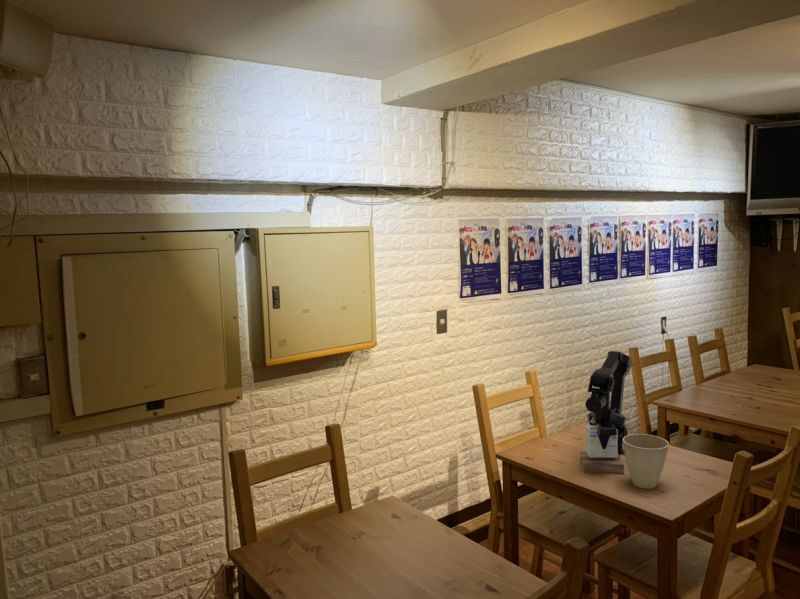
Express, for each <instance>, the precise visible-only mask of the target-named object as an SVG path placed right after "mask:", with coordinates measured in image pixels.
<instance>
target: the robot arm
mask: <svg viewBox="0 0 800 599" xmlns="http://www.w3.org/2000/svg"><path fill="white" fill-rule="evenodd" d="M632 365H633V360H632V357H631V356H630V355H627V354H624V353H623V352H622V351H616V350H615V351H614V350H610V351H608V353H607V357H606V359H605V360H604V363H603V364H602V365H601V367H600V368H597V369H595V370H594V372H592V374H591V375H590V378H589V383H588V389H587V392H588V393H591V394H590V397H588V398H587V399H586V401H585V408H586V409H587V411H589V413H588V414H587V416H586V417H587V418H586V419H587V421H588V423H589V424H588V425H598V427H597V431H598V432H597V435H598V438H599V441H600V443H601V446H602V449H606V446H607V443H608V440H609V438H610V436H612V435H617V430H618V455H621V454H622V455H625V452H624V445H623V438H624V437H625V436H627V435H629V433H628V432H629V431H628V430H629V429H628V428H627V426H626V419H627V417H626V416H625V415H624V414H622V411H623V410H622V409H623V401H624V398H623V397H624V392H625V391H624V389H625V380H626V377H627V376H628V374H629V373H630V371H631V368H632ZM613 425H614V426H613Z"/></svg>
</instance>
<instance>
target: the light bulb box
mask: <svg viewBox="0 0 800 599" xmlns="http://www.w3.org/2000/svg"><path fill="white" fill-rule="evenodd" d="M613 426H614V425H613ZM597 427H598V425H590V424H586V425H585V452H586V453H587V454H588V456H589V458H617V457H618V455H619V454H618V430H617V435H612V436H610V438H609V440H608V443H607V446H606V449H602V446H601V443H600V441H599V438H598V435H597V432H598V431H597Z"/></svg>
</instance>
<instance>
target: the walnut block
mask: <svg viewBox="0 0 800 599" xmlns="http://www.w3.org/2000/svg"><path fill="white" fill-rule="evenodd" d="M579 463H580V464H581V468H582V469H583V470H584V471H583V470H582V471H583V474H603V475H604V474H605V475H606V474H607V475H624V474H625V472H624V471H625V465H624V463H623V461H622V458H621V457H620V454H618V457H617V458H589V456H588V454H587V453H586V451H580V452H579Z"/></svg>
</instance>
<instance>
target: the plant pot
mask: <svg viewBox="0 0 800 599" xmlns="http://www.w3.org/2000/svg"><path fill="white" fill-rule="evenodd" d="M669 446H670V443H669V441H667V440H666V439H664V438H663V437H659V436H657V435H652V434H645V433H632V434H628V435H627V436H625V437H624V438H623V450H624V452H625V454H624V456H625V460H626V462H625V463H626V465H627V470H628V472H629V476H630V478H631V481H632V484H633V485H634V486H635V487H637V488H639V489H643V490H644V489H645V490H650V489H654V488H656V487H657V484H658V482H659V480H660V478H661V475H662V472H663V470H664V467H665V463H666V460H667V455H668V450H669Z"/></svg>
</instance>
